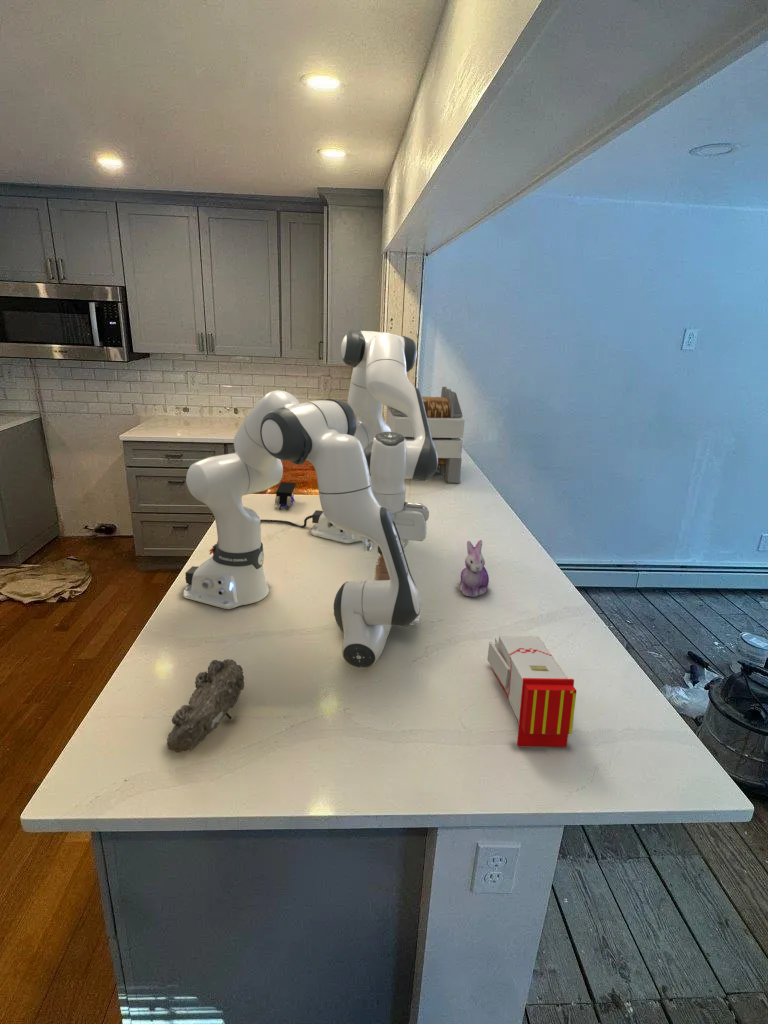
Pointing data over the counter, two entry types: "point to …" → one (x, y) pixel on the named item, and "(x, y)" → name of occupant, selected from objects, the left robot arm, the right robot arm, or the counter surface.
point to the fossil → (206, 705)
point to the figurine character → (285, 494)
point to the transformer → (437, 430)
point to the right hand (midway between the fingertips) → (384, 552)
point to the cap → (379, 550)
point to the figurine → (474, 572)
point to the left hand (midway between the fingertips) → (384, 592)
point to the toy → (534, 690)
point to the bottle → (381, 569)
